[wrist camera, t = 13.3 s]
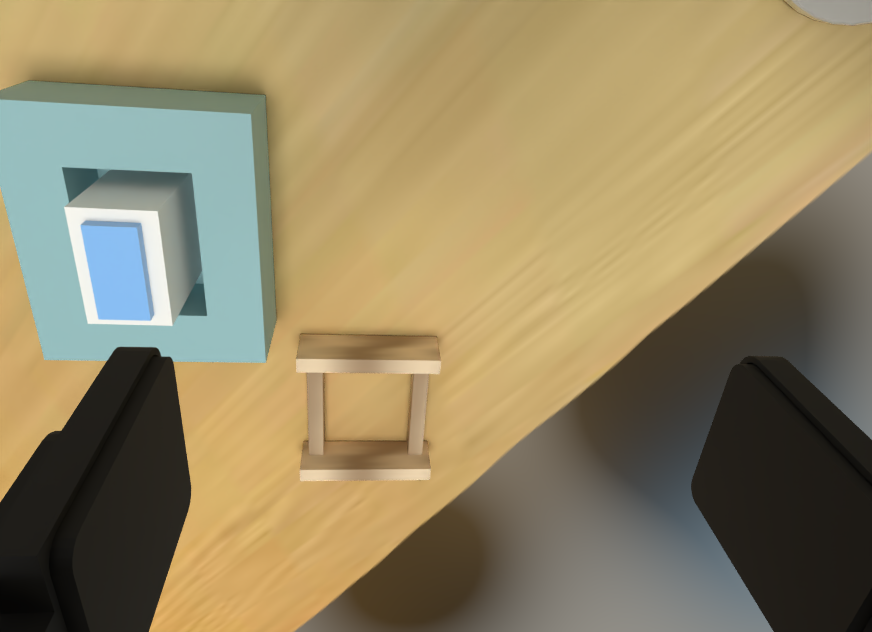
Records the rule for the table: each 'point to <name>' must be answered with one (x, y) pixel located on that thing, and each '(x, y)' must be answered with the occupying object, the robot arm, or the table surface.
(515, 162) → the table surface
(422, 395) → the wooden frame
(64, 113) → the block
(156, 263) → the white box blue label
